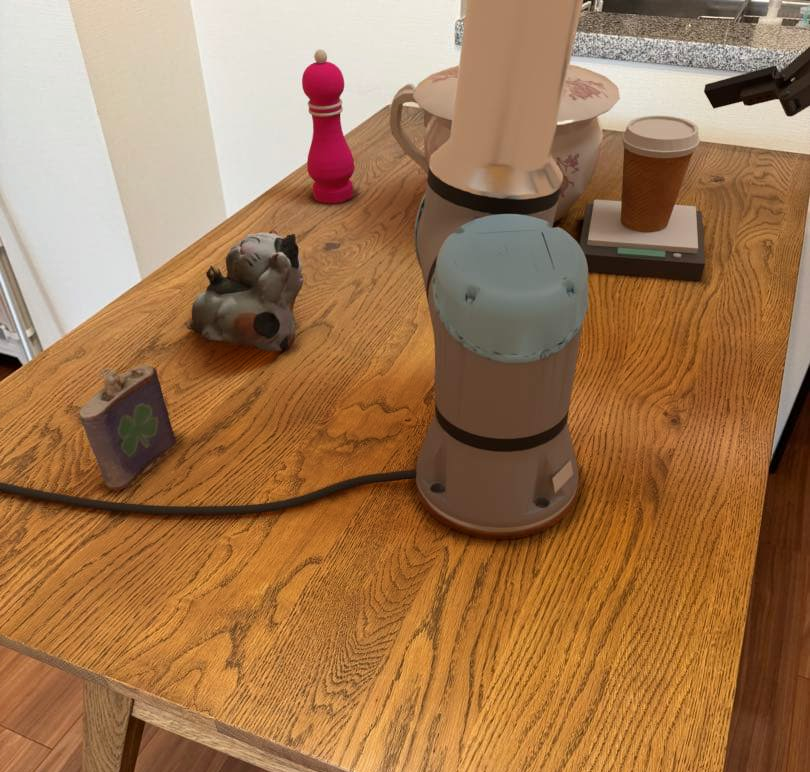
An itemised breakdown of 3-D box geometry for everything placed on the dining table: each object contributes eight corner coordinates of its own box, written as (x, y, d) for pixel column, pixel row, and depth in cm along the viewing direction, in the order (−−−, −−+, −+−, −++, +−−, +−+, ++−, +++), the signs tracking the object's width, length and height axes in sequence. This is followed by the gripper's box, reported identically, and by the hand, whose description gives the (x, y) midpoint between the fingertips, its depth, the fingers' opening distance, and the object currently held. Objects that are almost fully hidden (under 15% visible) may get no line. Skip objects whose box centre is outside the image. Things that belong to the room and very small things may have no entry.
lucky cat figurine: (180, 322, 97) (199, 204, 92) (274, 341, 102) (297, 230, 97) (195, 350, 84) (218, 215, 79) (302, 370, 89) (329, 245, 84)
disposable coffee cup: (681, 240, 102) (704, 142, 93) (607, 235, 103) (623, 139, 95) (679, 209, 108) (700, 115, 100) (609, 205, 110) (623, 112, 101)
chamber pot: (641, 221, 113) (672, 58, 98) (492, 276, 103) (501, 104, 88) (517, 163, 130) (527, 16, 115) (378, 205, 119) (370, 50, 105)
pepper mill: (365, 191, 123) (356, 46, 109) (338, 208, 119) (325, 59, 105) (328, 183, 126) (315, 40, 112) (301, 199, 122) (283, 53, 107)
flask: (120, 495, 75) (84, 403, 67) (97, 486, 76) (59, 394, 68) (183, 441, 80) (156, 350, 73) (161, 433, 81) (132, 343, 74)
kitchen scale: (575, 270, 103) (578, 247, 101) (584, 219, 114) (587, 197, 112) (700, 281, 101) (707, 257, 98) (697, 227, 111) (703, 205, 109)
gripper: (965, 122, 65) (711, 171, 79) (1016, -150, 67) (758, -54, 81) (955, 63, 59) (683, 127, 73) (1010, -232, 61) (735, -114, 75)
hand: (722, 33), depth 77 cm, fingers open, 13 cm apart
